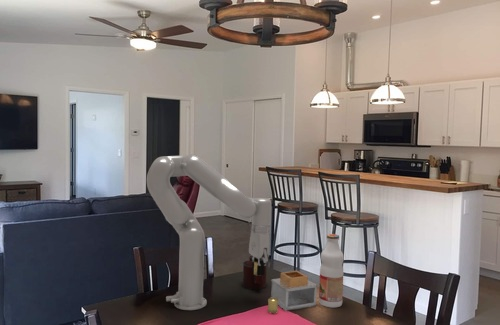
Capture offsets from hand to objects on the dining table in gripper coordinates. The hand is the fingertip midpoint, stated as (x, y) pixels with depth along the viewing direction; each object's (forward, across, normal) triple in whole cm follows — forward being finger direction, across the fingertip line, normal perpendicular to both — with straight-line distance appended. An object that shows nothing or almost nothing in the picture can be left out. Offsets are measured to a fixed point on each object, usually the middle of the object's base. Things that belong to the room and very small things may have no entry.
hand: (258, 273), depth 162 cm
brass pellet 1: (0, 0, 0) cm, 0 cm away
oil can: (+12, -21, +8) cm, 25 cm away
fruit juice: (+11, +13, +27) cm, 32 cm away
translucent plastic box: (+11, +7, +13) cm, 18 cm away
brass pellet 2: (+11, +12, +1) cm, 17 cm away
